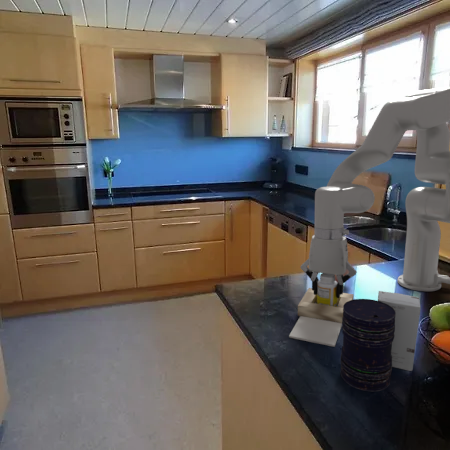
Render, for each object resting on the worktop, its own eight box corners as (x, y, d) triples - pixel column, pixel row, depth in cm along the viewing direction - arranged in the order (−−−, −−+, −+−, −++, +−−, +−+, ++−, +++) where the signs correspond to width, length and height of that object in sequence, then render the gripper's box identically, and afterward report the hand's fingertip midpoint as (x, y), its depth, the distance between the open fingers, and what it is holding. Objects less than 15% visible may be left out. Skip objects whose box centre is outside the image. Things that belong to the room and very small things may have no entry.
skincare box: (371, 363, 80) (375, 300, 77) (373, 349, 86) (377, 289, 82) (414, 372, 77) (421, 306, 73) (413, 356, 82) (419, 294, 79)
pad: (342, 325, 97) (342, 323, 97) (334, 346, 87) (334, 344, 87) (300, 317, 101) (300, 316, 101) (289, 337, 92) (289, 335, 92)
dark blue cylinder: (332, 363, 81) (335, 300, 78) (376, 360, 82) (381, 297, 78) (351, 393, 71) (354, 323, 68) (400, 390, 72) (406, 319, 68)
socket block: (353, 303, 108) (353, 294, 108) (346, 324, 97) (347, 313, 96) (308, 296, 114) (309, 287, 113) (297, 315, 103) (297, 305, 102)
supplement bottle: (332, 303, 109) (333, 270, 106) (340, 312, 103) (341, 278, 101) (314, 305, 108) (314, 272, 106) (320, 314, 103) (321, 279, 100)
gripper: (363, 231, 100) (360, 293, 104) (300, 227, 107) (300, 285, 112) (360, 239, 93) (357, 305, 98) (293, 233, 101) (293, 295, 105)
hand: (327, 293), depth 105 cm, fingers closed on supplement bottle, 5 cm apart
